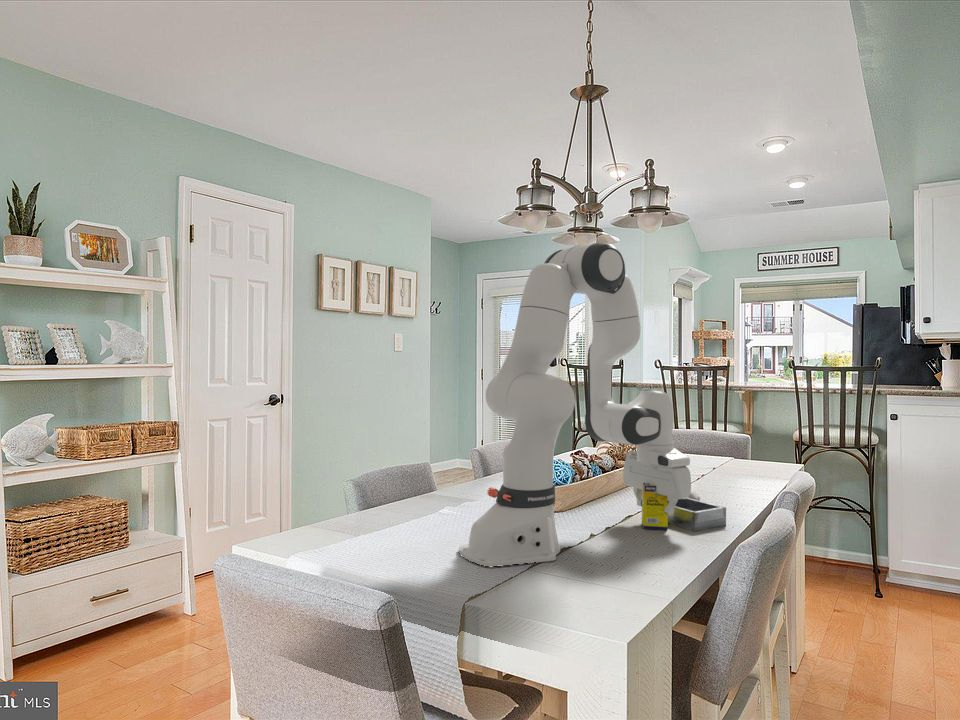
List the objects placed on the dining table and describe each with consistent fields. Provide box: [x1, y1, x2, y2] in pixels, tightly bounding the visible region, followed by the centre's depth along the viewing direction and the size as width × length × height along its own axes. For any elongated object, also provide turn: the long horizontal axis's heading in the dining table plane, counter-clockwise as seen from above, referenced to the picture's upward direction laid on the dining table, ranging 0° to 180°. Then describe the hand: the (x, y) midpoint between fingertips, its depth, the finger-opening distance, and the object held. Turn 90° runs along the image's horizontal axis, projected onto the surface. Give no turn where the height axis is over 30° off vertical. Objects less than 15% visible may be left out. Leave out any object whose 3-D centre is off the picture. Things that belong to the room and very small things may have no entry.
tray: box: [668, 498, 727, 532], centre depth 169 cm, size 11×16×8 cm
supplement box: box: [641, 483, 669, 531], centre depth 163 cm, size 6×6×11 cm
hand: (654, 509), depth 164 cm, fingers closed on supplement box, 8 cm apart
